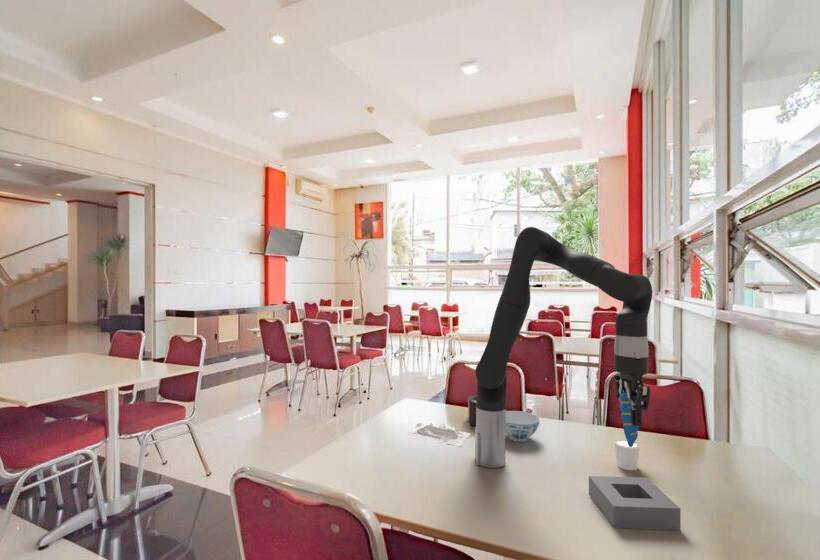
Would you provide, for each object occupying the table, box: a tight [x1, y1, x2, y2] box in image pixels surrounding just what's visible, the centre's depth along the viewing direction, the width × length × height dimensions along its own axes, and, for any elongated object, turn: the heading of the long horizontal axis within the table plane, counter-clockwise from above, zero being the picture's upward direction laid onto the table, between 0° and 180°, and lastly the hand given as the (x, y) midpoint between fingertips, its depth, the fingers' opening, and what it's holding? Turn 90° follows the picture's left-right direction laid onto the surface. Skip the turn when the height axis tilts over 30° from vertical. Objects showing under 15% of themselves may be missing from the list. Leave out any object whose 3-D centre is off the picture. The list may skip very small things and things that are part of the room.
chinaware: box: [506, 410, 541, 443], centre depth 150 cm, size 15×15×8 cm
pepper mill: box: [467, 394, 477, 427], centre depth 169 cm, size 16×11×18 cm
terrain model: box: [405, 422, 472, 448], centre depth 152 cm, size 17×23×5 cm
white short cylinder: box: [614, 439, 640, 471], centre depth 127 cm, size 7×7×7 cm
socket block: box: [588, 475, 681, 531], centre depth 102 cm, size 15×15×5 cm
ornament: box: [619, 392, 640, 447], centre depth 102 cm, size 5×5×15 cm
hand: (631, 421), depth 102 cm, fingers closed on ornament, 5 cm apart
